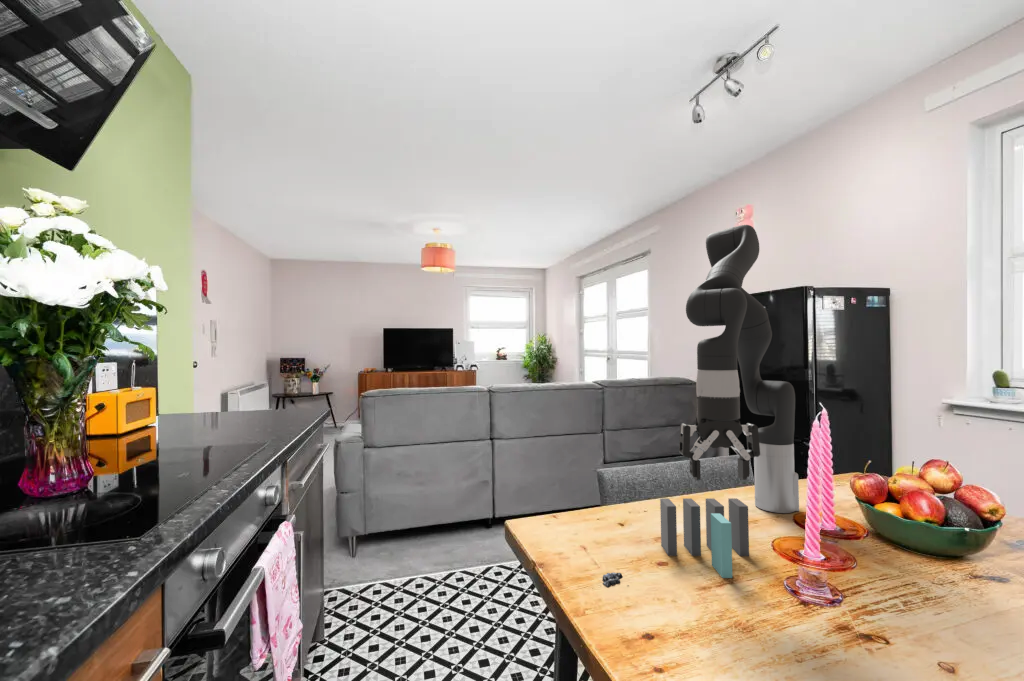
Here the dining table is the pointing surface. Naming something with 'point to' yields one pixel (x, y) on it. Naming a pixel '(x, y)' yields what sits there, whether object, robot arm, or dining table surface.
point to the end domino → (721, 545)
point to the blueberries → (611, 579)
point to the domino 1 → (668, 526)
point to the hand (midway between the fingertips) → (719, 479)
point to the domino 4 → (739, 526)
